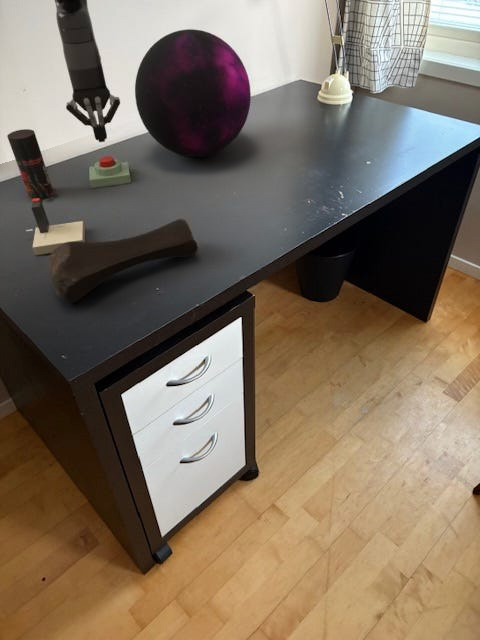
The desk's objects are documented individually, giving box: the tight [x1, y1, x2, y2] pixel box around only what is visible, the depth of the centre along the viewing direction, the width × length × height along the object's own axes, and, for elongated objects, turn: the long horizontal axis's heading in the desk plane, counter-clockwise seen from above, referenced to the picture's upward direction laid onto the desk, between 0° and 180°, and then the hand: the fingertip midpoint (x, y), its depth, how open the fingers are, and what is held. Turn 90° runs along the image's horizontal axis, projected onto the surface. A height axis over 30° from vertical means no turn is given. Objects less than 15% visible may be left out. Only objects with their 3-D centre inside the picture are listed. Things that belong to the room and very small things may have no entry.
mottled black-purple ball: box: [134, 28, 252, 158], centre depth 125 cm, size 30×30×30 cm
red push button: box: [98, 155, 115, 168], centre depth 121 cm, size 4×4×2 cm
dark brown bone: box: [48, 218, 199, 303], centre depth 90 cm, size 11×10×28 cm
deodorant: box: [7, 128, 55, 201], centre depth 114 cm, size 6×6×15 cm
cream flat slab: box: [25, 220, 86, 256], centre depth 102 cm, size 12×11×2 cm
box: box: [88, 158, 132, 189], centre depth 123 cm, size 10×8×4 cm
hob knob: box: [30, 198, 50, 233], centre depth 100 cm, size 4×2×6 cm, turn 14°
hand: (102, 140), depth 117 cm, fingers closed
